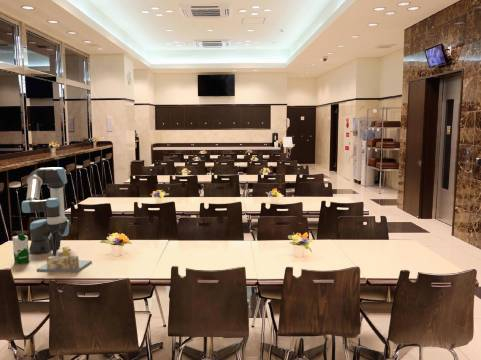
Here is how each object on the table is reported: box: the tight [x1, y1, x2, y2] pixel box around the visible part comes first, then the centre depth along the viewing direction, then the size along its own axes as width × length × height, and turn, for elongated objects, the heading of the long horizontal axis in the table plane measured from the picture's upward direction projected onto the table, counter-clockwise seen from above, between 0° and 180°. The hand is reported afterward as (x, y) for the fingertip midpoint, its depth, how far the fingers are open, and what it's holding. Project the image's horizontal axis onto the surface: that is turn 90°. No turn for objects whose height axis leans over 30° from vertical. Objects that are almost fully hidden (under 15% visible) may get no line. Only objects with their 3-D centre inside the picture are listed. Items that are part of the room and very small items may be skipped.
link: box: [46, 255, 80, 270], centre depth 292 cm, size 18×6×7 cm, turn 88°
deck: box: [36, 246, 93, 274], centre depth 299 cm, size 21×27×11 cm
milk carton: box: [12, 233, 30, 265], centre depth 308 cm, size 9×9×20 cm
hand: (55, 260), depth 284 cm, fingers closed
